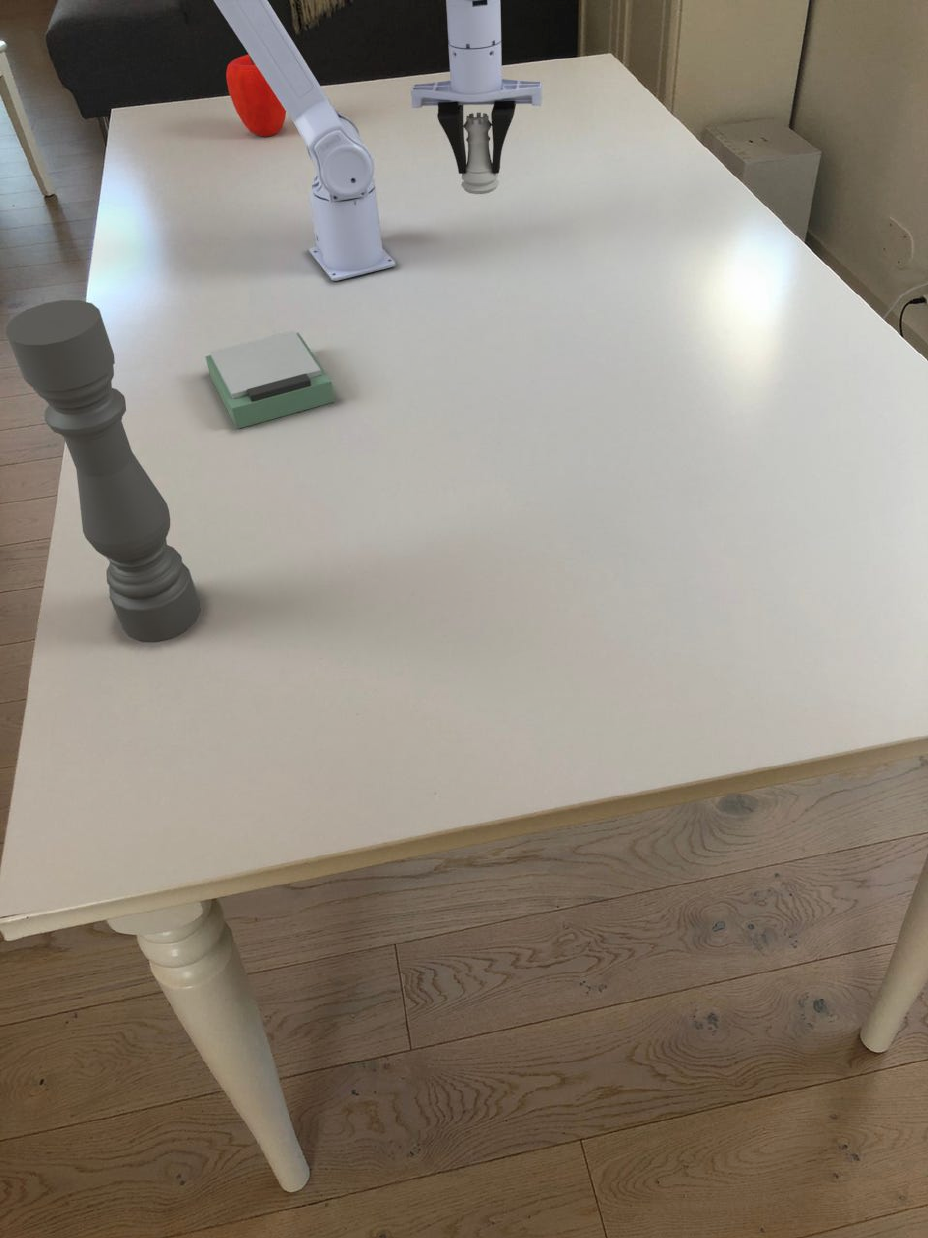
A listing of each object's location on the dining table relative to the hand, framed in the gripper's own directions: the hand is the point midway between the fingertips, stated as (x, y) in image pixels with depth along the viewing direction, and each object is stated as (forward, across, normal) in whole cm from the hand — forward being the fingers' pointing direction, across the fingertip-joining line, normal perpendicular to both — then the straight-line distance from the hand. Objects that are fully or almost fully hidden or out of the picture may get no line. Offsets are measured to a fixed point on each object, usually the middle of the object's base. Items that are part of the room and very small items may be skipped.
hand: (479, 170), depth 119 cm
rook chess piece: (+2, 0, 0) cm, 2 cm away
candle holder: (+9, +19, +67) cm, 70 cm away
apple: (+9, +37, -39) cm, 55 cm away
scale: (+9, +18, +34) cm, 40 cm away
